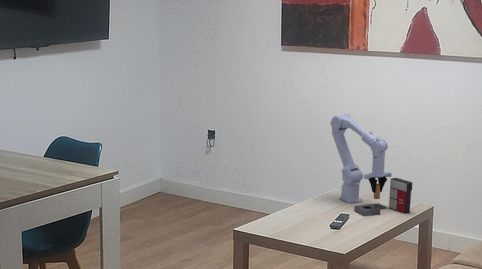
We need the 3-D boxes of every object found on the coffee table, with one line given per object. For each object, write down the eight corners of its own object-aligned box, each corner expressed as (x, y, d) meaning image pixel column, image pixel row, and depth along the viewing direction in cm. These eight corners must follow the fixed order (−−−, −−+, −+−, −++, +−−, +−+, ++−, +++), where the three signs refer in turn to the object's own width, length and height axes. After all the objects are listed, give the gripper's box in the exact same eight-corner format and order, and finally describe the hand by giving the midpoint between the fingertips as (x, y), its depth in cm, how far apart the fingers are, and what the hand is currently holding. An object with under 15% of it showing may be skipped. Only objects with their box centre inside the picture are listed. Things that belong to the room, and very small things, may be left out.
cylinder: (372, 197, 381) (373, 184, 380) (377, 197, 382) (378, 183, 381) (375, 199, 379) (376, 185, 377) (380, 198, 380) (381, 185, 378)
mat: (365, 205, 384) (365, 204, 383) (378, 204, 386) (378, 203, 386) (373, 209, 377) (373, 208, 377) (386, 208, 379) (386, 207, 379)
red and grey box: (387, 208, 380) (389, 178, 377) (393, 206, 382) (395, 177, 379) (404, 213, 371) (406, 183, 368) (410, 212, 374) (412, 182, 371)
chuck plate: (354, 210, 375) (354, 205, 374) (370, 209, 378) (370, 204, 377) (363, 216, 366) (364, 211, 366) (380, 214, 370) (380, 209, 369)
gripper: (369, 168, 371) (368, 195, 374) (395, 165, 376) (394, 192, 379) (362, 164, 377) (360, 191, 380) (387, 162, 383) (386, 189, 385)
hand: (376, 191), depth 380 cm, fingers closed on cylinder, 3 cm apart
